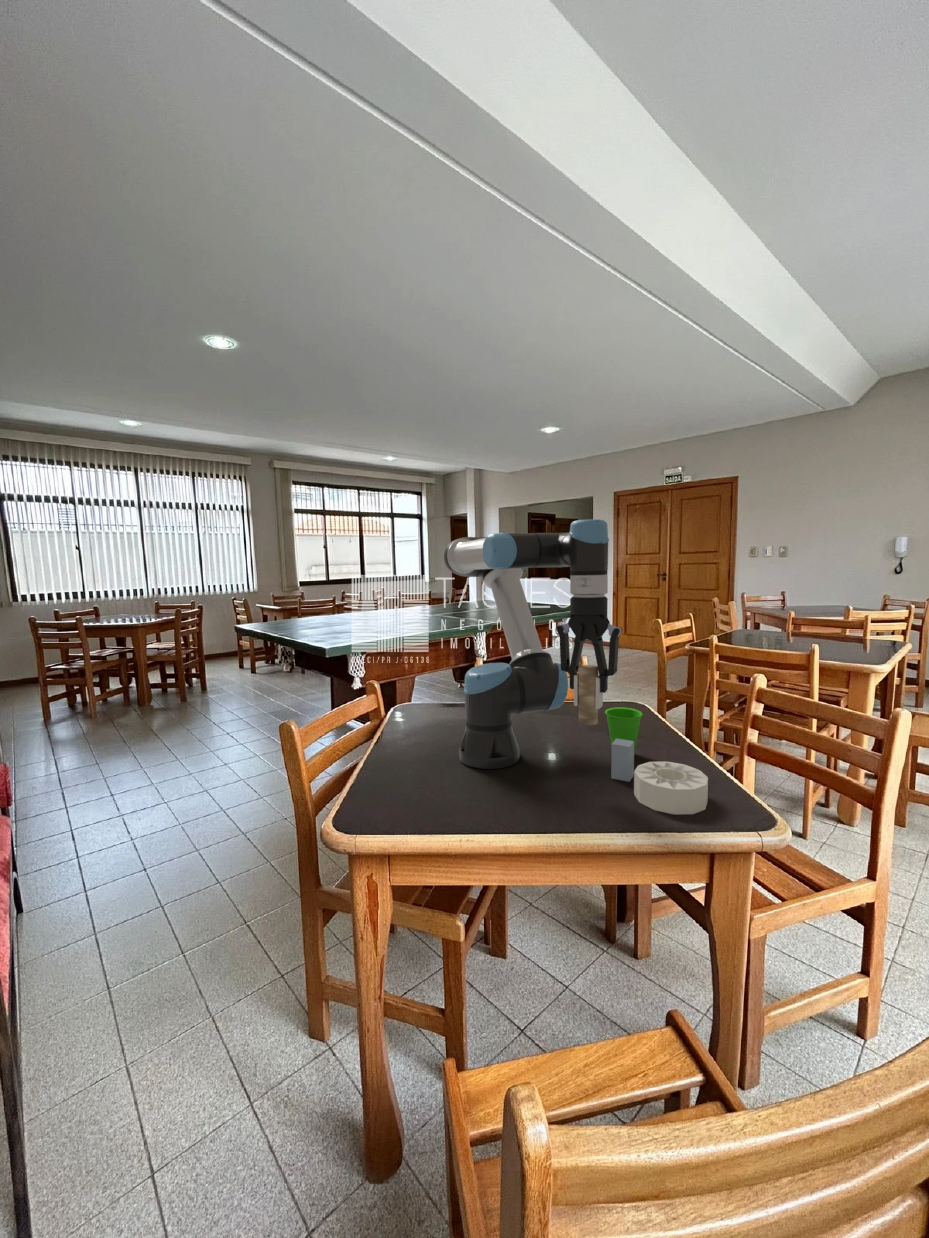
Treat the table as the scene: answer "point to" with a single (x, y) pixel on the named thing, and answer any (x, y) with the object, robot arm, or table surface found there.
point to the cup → (623, 724)
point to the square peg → (622, 760)
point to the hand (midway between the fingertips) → (588, 705)
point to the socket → (671, 787)
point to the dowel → (587, 694)
